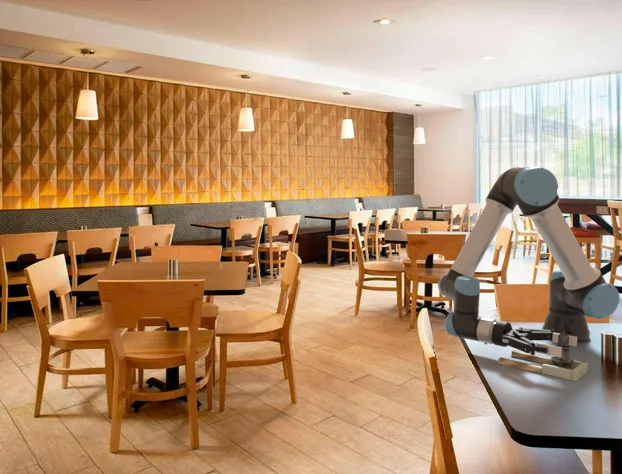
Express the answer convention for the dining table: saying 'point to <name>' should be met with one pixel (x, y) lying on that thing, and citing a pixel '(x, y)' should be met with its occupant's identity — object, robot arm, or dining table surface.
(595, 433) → the dining table surface
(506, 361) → the channel
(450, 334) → the robot arm
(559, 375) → the socket
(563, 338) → the dark stone chess piece
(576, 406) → the dining table surface
